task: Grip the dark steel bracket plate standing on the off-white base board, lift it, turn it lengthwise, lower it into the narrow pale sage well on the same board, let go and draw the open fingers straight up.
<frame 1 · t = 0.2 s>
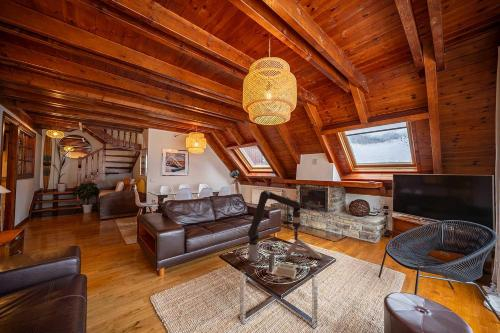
hand: (296, 238, 187), 29 cm above the table, tool pointing down, fingers open, 8 cm apart
well board: (281, 272, 180), on the table
wall bracket: (303, 256, 210), on the table
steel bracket: (271, 269, 183), point 1 cm above the table, touching well board
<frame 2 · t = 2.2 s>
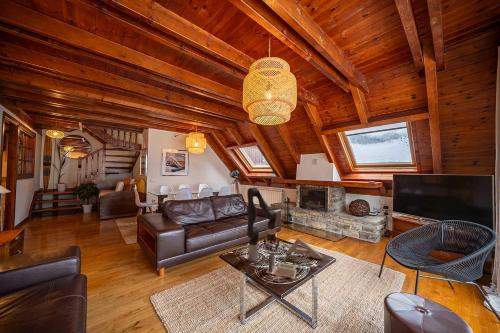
hand: (271, 249, 182), 20 cm above the table, tool pointing down, fingers open, 8 cm apart
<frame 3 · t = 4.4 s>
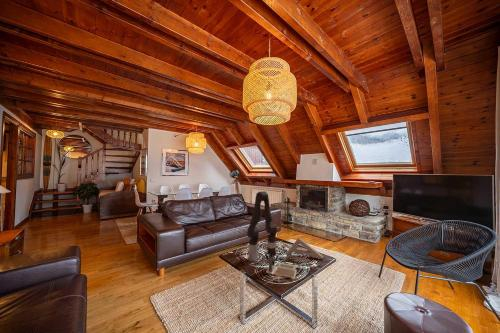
hand: (271, 264, 183), 6 cm above the table, tool pointing down, fingers closed on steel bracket, 3 cm apart
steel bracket: (271, 269, 183), point 1 cm above the table, touching gripper, well board
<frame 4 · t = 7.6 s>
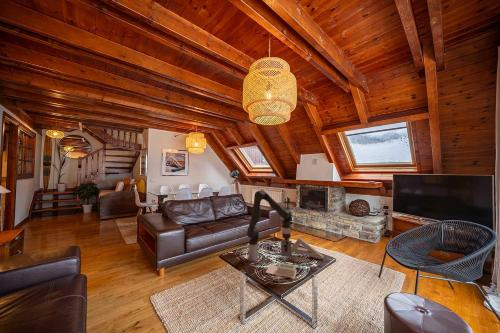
hand: (286, 250, 177), 21 cm above the table, tool pointing down, fingers closed on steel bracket, 3 cm apart
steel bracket: (286, 256, 177), point 16 cm above the table, touching gripper
when the fingers open (8 cm above the table, at t = 10.9 s): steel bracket drops 2 cm, resting on well board.
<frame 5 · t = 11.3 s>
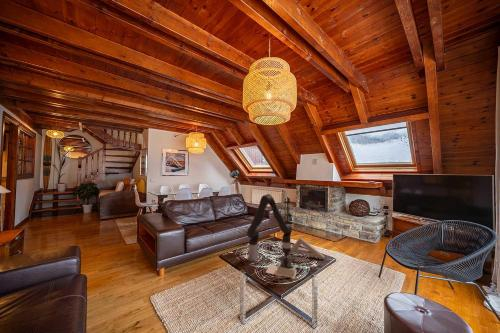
hand: (286, 264, 178), 8 cm above the table, tool pointing down, fingers open, 6 cm apart
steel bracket: (286, 272, 178), point 1 cm above the table, touching well board
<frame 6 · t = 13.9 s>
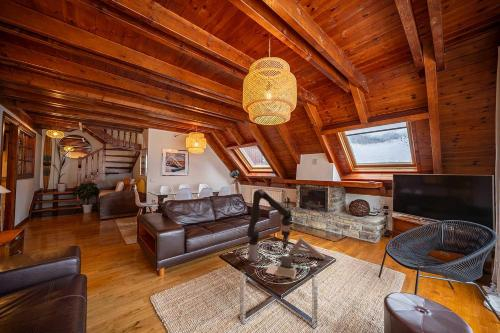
hand: (285, 246, 180), 23 cm above the table, tool pointing down, fingers open, 8 cm apart
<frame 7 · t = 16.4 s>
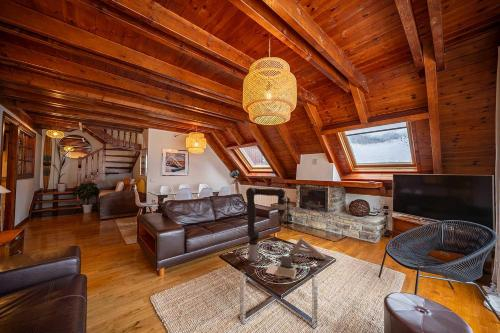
hand: (281, 224, 200), 38 cm above the table, tool pointing down, fingers open, 8 cm apart
at the end: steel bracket 0.1 cm from the target spot on the well board, point 1.0 cm above the well board's base; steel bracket tilted 0°; the gripper is holding nothing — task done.
